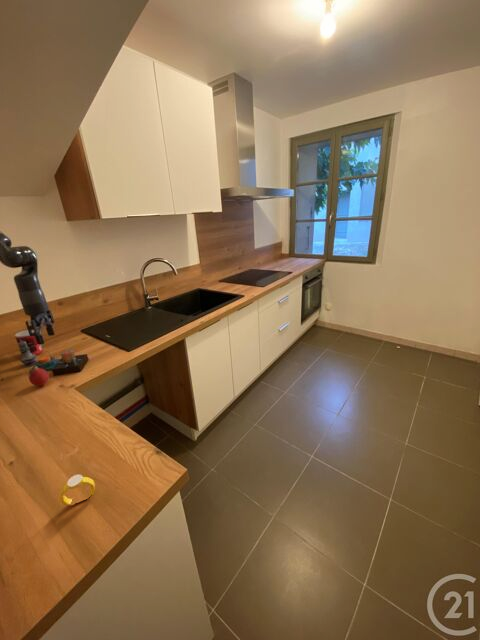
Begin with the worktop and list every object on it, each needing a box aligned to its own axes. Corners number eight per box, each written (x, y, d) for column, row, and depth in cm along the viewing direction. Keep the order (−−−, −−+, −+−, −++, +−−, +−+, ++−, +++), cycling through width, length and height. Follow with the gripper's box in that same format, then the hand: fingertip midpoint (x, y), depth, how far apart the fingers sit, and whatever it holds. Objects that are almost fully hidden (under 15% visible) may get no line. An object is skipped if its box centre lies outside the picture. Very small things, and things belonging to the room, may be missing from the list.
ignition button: (38, 364, 109) (37, 360, 108) (43, 360, 112) (41, 356, 111) (48, 363, 109) (47, 359, 108) (52, 358, 112) (51, 355, 112)
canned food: (37, 349, 129) (29, 328, 125) (46, 351, 125) (38, 330, 121) (19, 356, 122) (10, 335, 118) (29, 359, 119) (20, 337, 115)
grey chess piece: (23, 369, 111) (12, 344, 106) (20, 365, 114) (10, 340, 110) (40, 363, 115) (30, 338, 110) (36, 359, 118) (27, 335, 114)
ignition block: (29, 373, 107) (27, 367, 106) (39, 364, 114) (37, 358, 113) (56, 369, 109) (54, 363, 108) (64, 360, 116) (62, 354, 115)
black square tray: (53, 375, 104) (51, 369, 103) (64, 363, 113) (61, 357, 112) (80, 371, 106) (78, 365, 105) (88, 359, 115) (86, 353, 114)
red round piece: (42, 390, 95) (34, 372, 92) (29, 389, 96) (21, 371, 93) (55, 381, 100) (48, 363, 98) (42, 380, 102) (35, 362, 99)
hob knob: (66, 359, 110) (63, 349, 109) (77, 357, 111) (74, 347, 109) (61, 364, 106) (58, 354, 104) (73, 363, 107) (70, 352, 105)
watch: (65, 513, 54) (56, 493, 52) (66, 501, 56) (57, 481, 54) (97, 498, 56) (89, 479, 54) (97, 487, 59) (90, 468, 56)
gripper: (34, 305, 93) (48, 345, 99) (53, 295, 106) (64, 331, 112) (11, 307, 92) (26, 348, 98) (32, 296, 105) (45, 333, 111)
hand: (46, 339), depth 105 cm, fingers open, 8 cm apart
